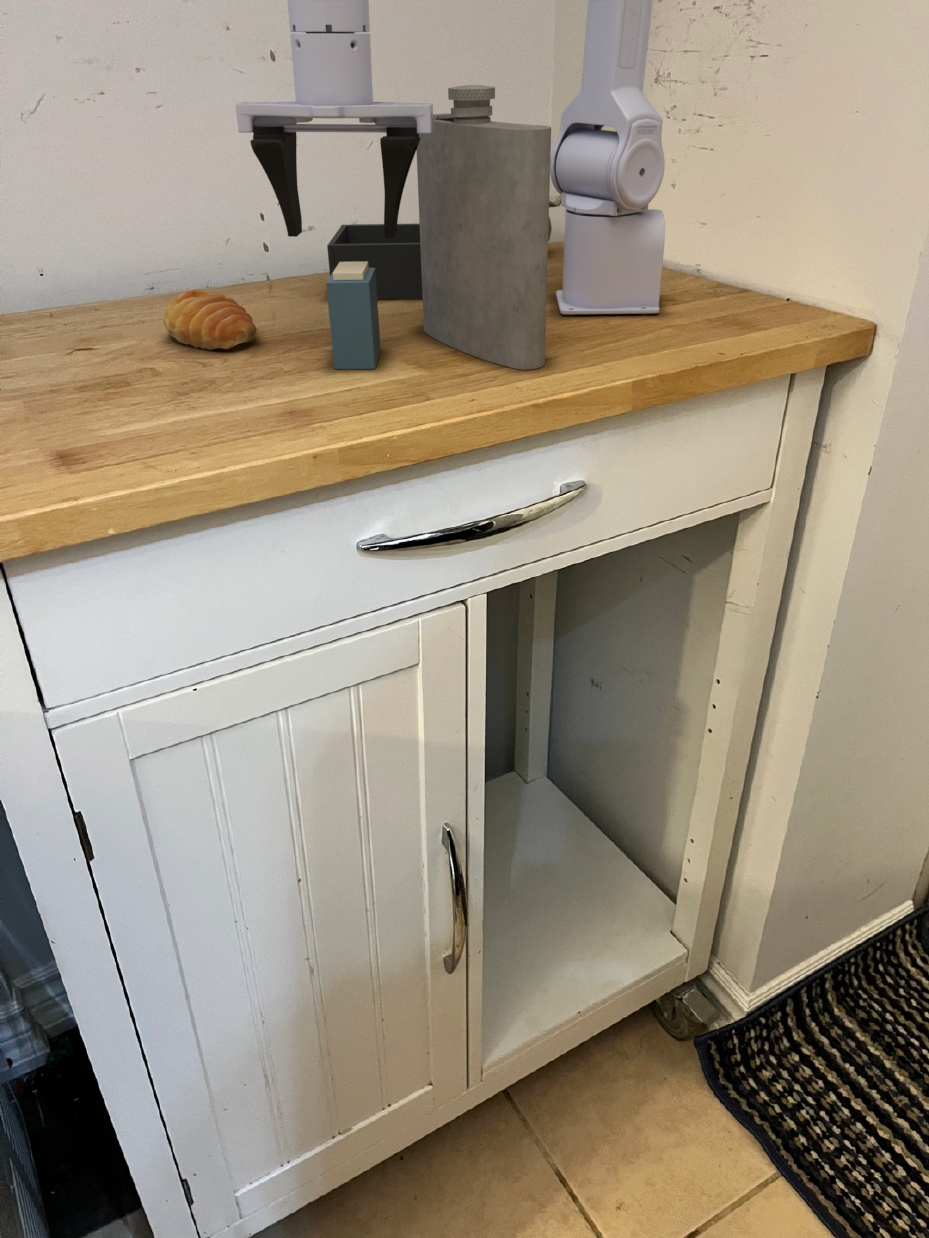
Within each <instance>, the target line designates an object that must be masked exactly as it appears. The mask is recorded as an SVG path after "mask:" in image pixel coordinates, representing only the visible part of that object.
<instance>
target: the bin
mask: <svg viewBox="0 0 929 1238" xmlns="http://www.w3.org/2000/svg"><path fill="white" fill-rule="evenodd" d="M326 247H327V257H328V259H327V260H328V269H329V277H330V276H331V274H332V273H333V271H334V269H335V268H336V267H337V265H338V264H339V262H365V261H368V265H369V268H375V270H376V285H377V300H378V301H381V300H383V301H384V300H423V295H422V271H421V247H420V223H397V234H396V236H395V237H394V238H385V232H384V223H369V224H368V223H361V224H359V223H358V224H354V223H353V224H341V225H340V227H339V228H338V230H337V231H336V232H335V234H334V235H333V236H332V238H331V239H330V241H329V242H328V244H327V245H326Z"/></svg>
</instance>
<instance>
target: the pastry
mask: <svg viewBox="0 0 929 1238" xmlns="http://www.w3.org/2000/svg"><path fill="white" fill-rule="evenodd" d="M162 322H163V325H164V327H165V329H166V331H167V332H168V334H169V336H170V338H174V339H175V340H177V342H179V343H181V344H185V345H191V346H193V347H194V348H195V349H197V348H201V350H204V349H205V350H209V351H212V350H215V349H224V350H229V349H230V348H233V347H236V346H237V345H239V344H243V343H249V342H250V343H252V342H253V341H254V338H255V336H256V334H257V331H258V330H257V329H258V328H257V327H256V325H255V323H254V322H253V317H252V316H251V314H250V313H249V312H248V311H247V310H246V308H245V307H244V306H242V305H240V304H238V302H237V301H236V300H235V299H234V298H233V297H227V296H226V295H224V294H221V293H209V292H207V291H203V290H197V289H191V290H185V291H183V292H181V293H180V294H178V295H177V297H173V298H171V299H170V302H169V303H168V305H166V308H165V311H164V313H163V316H162Z"/></svg>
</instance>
